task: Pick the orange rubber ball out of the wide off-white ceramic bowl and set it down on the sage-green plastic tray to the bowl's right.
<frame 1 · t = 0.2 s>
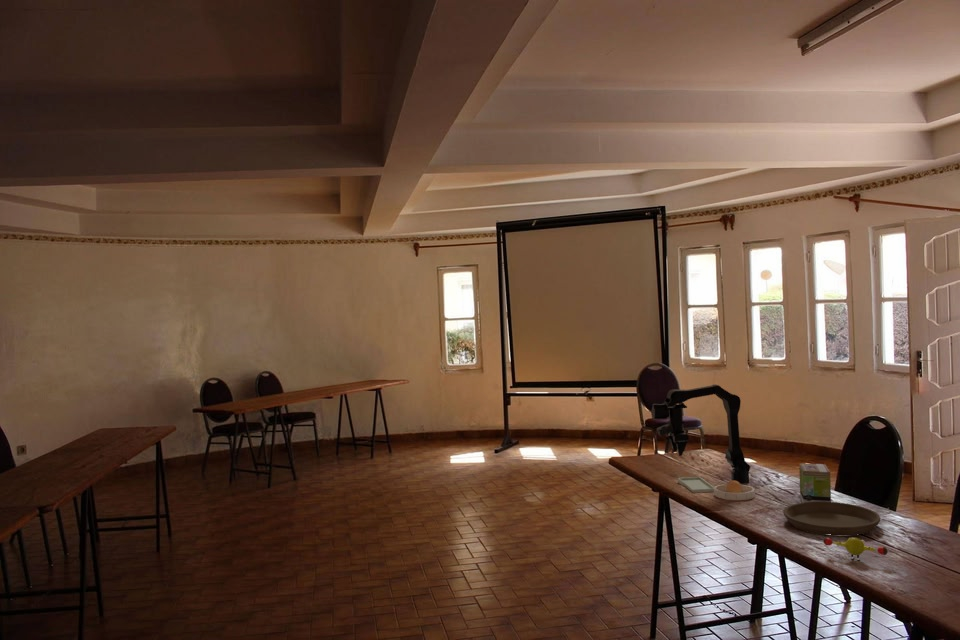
hand: (677, 453, 320), 14 cm above the table, fingers open, 9 cm apart
ball: (734, 495, 299), point 1 cm above the table, touching bowl
tray: (696, 487, 317), on the table
plant saucer: (830, 526, 257), on the table
tea box: (815, 505, 283), on the table
toy figure: (855, 560, 222), on the table
bowl: (734, 497, 299), on the table
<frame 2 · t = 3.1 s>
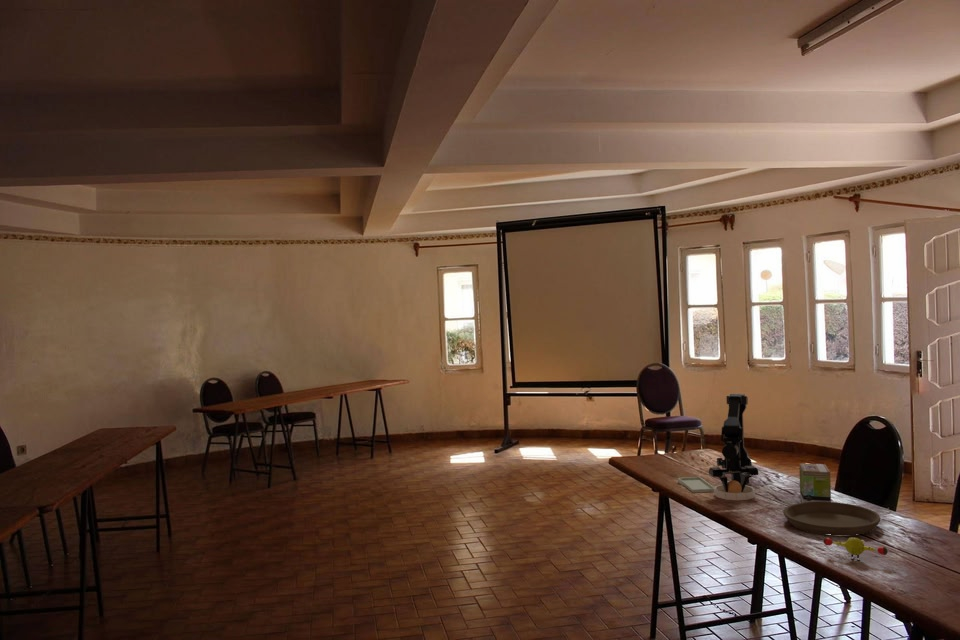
hand: (734, 492, 299), 2 cm above the table, fingers closed on ball, 6 cm apart
ball: (734, 495, 299), point 1 cm above the table, touching bowl, gripper
everything else where it was.
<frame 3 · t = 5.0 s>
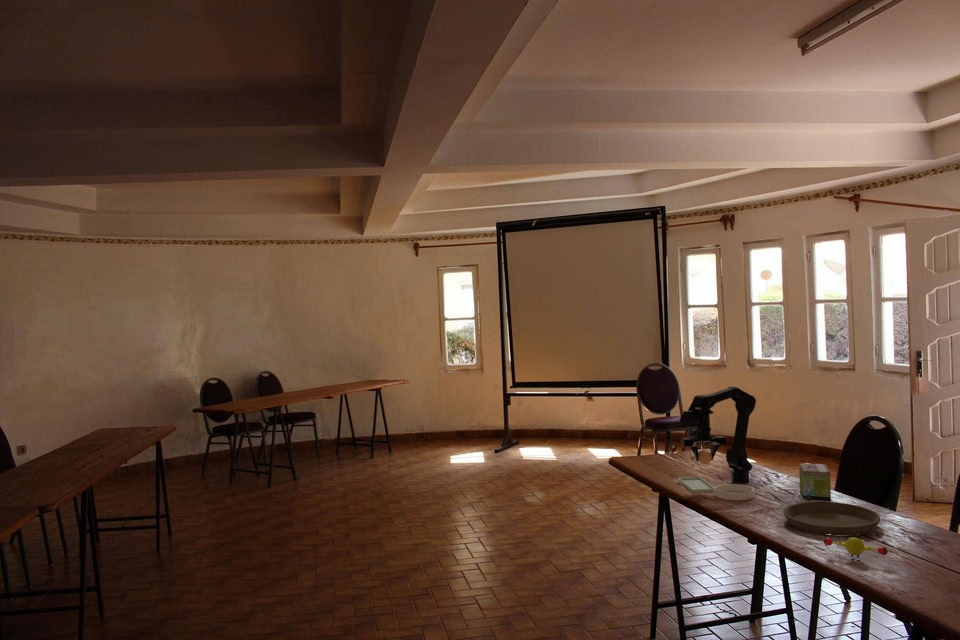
hand: (704, 461, 312), 12 cm above the table, fingers closed on ball, 6 cm apart
ball: (704, 463, 312), point 11 cm above the table, touching gripper
everything else where it was.
when the fingers open (3 cm above the table, at t = 7.3 s): ball stays where it is, resting on tray.
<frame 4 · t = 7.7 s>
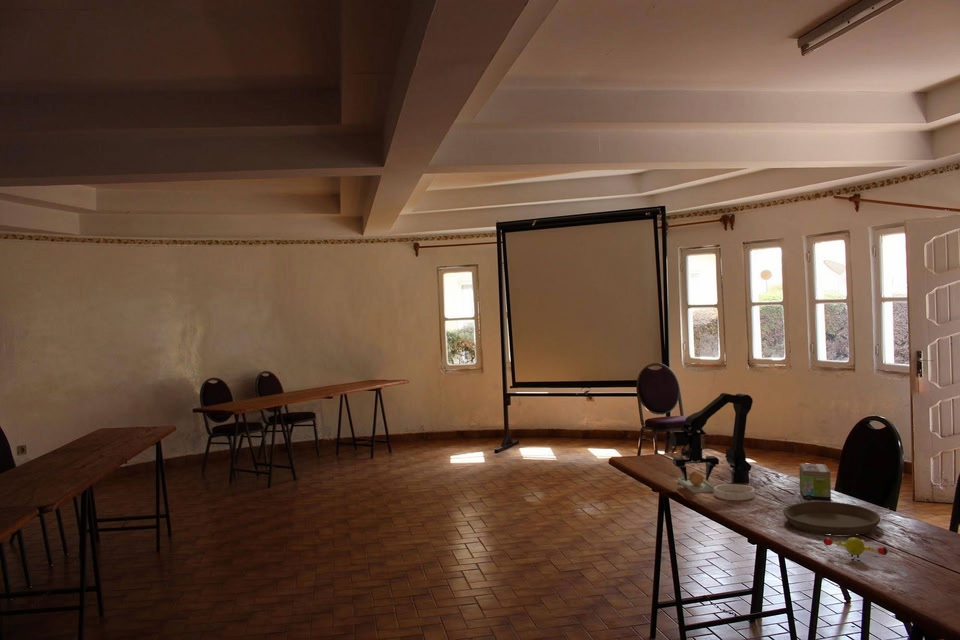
hand: (696, 480, 317), 3 cm above the table, fingers open, 9 cm apart
ball: (696, 485, 317), point 1 cm above the table, touching tray
everything else where it was.
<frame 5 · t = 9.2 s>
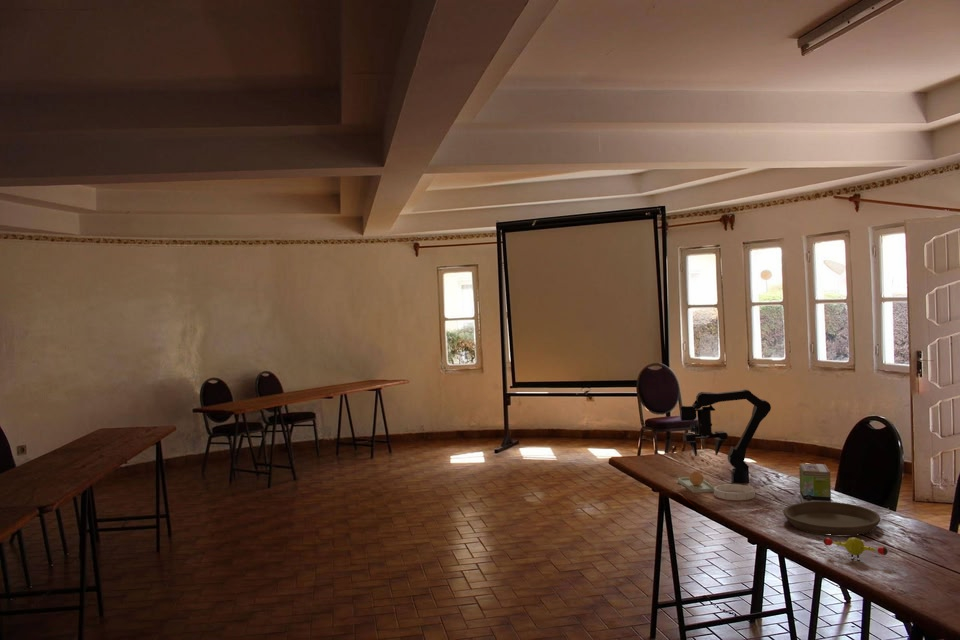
hand: (706, 455, 323), 12 cm above the table, fingers open, 9 cm apart
nothing on the table moved.
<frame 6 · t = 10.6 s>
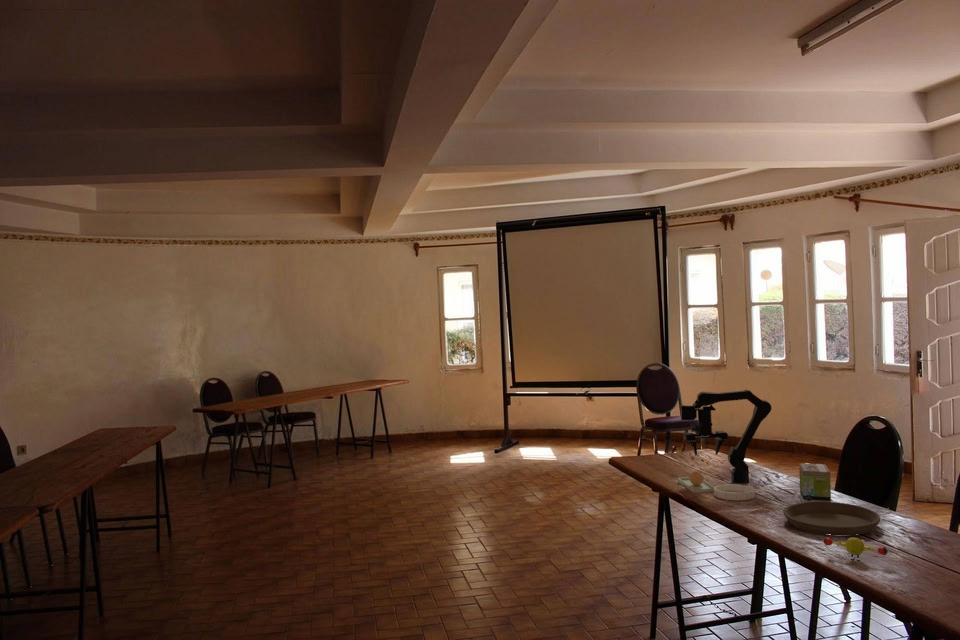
hand: (706, 455, 324), 13 cm above the table, fingers open, 9 cm apart
nothing on the table moved.
at the end: ball inside the target area on the tray (0.1 cm from its centre), point 1.0 cm above the tray's base; the gripper is holding nothing; ball touching tray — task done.
